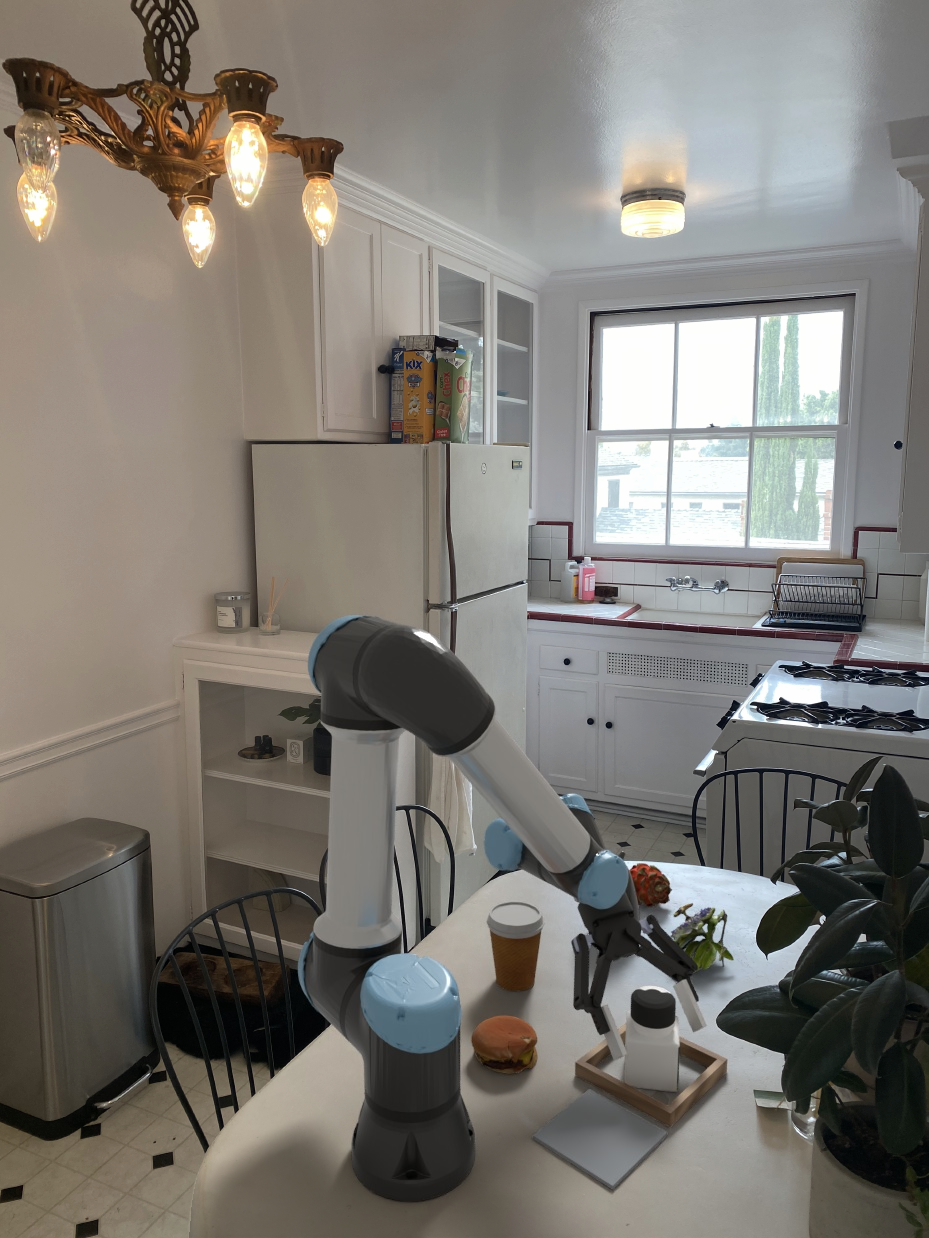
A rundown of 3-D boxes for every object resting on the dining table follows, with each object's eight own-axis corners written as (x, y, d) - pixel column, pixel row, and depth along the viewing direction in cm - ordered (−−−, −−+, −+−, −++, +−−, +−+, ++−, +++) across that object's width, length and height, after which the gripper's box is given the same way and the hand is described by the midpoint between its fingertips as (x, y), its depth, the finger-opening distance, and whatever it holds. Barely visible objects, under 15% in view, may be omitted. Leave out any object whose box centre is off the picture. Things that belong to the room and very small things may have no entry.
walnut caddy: (670, 1127, 115) (670, 1113, 115) (575, 1075, 125) (575, 1061, 125) (726, 1071, 126) (727, 1058, 126) (635, 1027, 136) (635, 1015, 136)
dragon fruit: (671, 922, 171) (617, 912, 179) (686, 884, 176) (633, 876, 184) (654, 896, 167) (600, 887, 175) (670, 858, 172) (616, 851, 180)
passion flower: (681, 979, 159) (686, 910, 164) (743, 986, 153) (745, 914, 158) (656, 968, 151) (662, 895, 156) (720, 975, 145) (724, 899, 150)
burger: (482, 1031, 136) (482, 1003, 135) (543, 1042, 133) (543, 1012, 132) (464, 1073, 126) (464, 1042, 126) (529, 1085, 124) (530, 1054, 123)
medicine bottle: (678, 1094, 122) (680, 1011, 120) (624, 1087, 123) (626, 1005, 121) (676, 1060, 128) (679, 982, 127) (625, 1054, 130) (627, 977, 128)
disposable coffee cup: (515, 1004, 142) (515, 933, 141) (474, 979, 150) (474, 911, 148) (556, 982, 149) (557, 913, 147) (515, 959, 156) (515, 894, 154)
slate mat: (612, 1189, 105) (612, 1185, 105) (532, 1138, 113) (532, 1135, 113) (667, 1135, 114) (667, 1132, 114) (589, 1091, 122) (589, 1088, 122)
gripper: (654, 887, 143) (717, 1025, 132) (517, 922, 132) (573, 1076, 121) (677, 868, 137) (745, 1010, 126) (536, 903, 126) (597, 1062, 115)
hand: (661, 1043), depth 124 cm, fingers open, 13 cm apart
